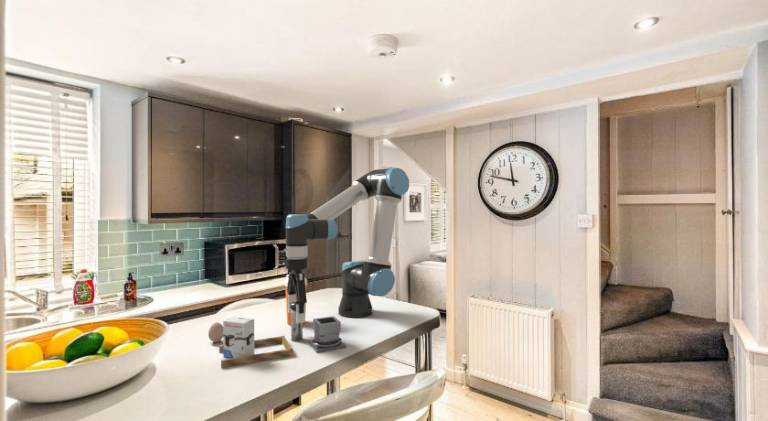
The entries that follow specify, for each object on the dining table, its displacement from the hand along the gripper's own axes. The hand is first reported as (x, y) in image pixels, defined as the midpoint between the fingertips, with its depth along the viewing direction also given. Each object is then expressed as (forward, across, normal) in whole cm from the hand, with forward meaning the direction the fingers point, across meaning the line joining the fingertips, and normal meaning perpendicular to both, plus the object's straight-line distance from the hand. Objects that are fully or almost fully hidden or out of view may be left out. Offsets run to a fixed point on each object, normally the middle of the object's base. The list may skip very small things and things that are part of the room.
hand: (296, 317), depth 135 cm
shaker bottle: (+8, -19, +4) cm, 21 cm away
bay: (+8, +7, -15) cm, 18 cm away
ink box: (+9, +7, -20) cm, 22 cm away
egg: (+9, -10, -26) cm, 29 cm away
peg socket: (+8, +10, +8) cm, 15 cm away
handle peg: (+8, 0, 0) cm, 8 cm away
